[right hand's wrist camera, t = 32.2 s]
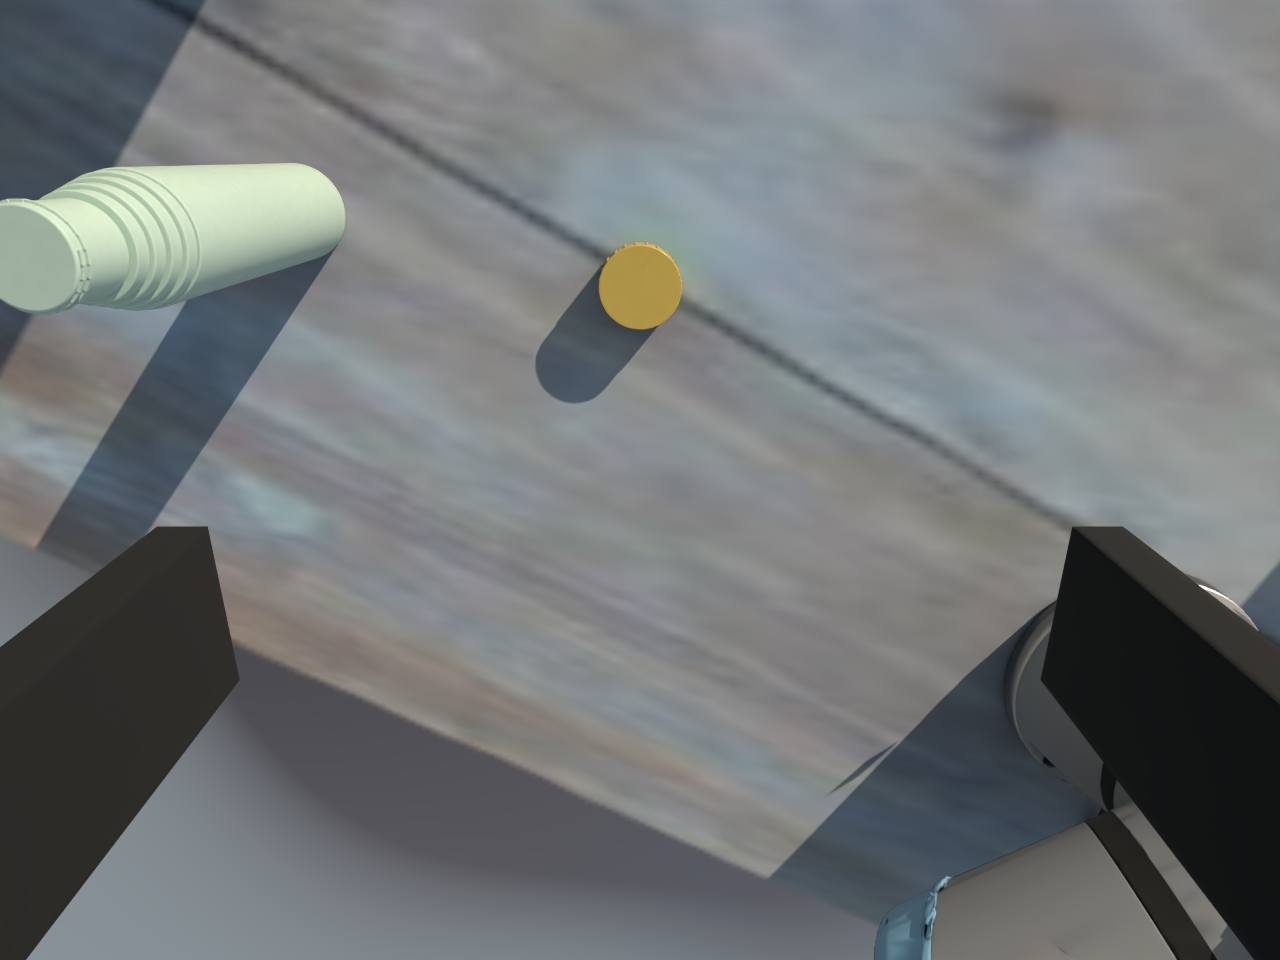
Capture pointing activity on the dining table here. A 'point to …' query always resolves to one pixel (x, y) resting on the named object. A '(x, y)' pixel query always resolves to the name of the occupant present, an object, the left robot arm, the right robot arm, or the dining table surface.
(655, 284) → the cap
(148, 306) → the bottle
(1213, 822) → the right robot arm
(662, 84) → the dining table surface
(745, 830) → the dining table surface
